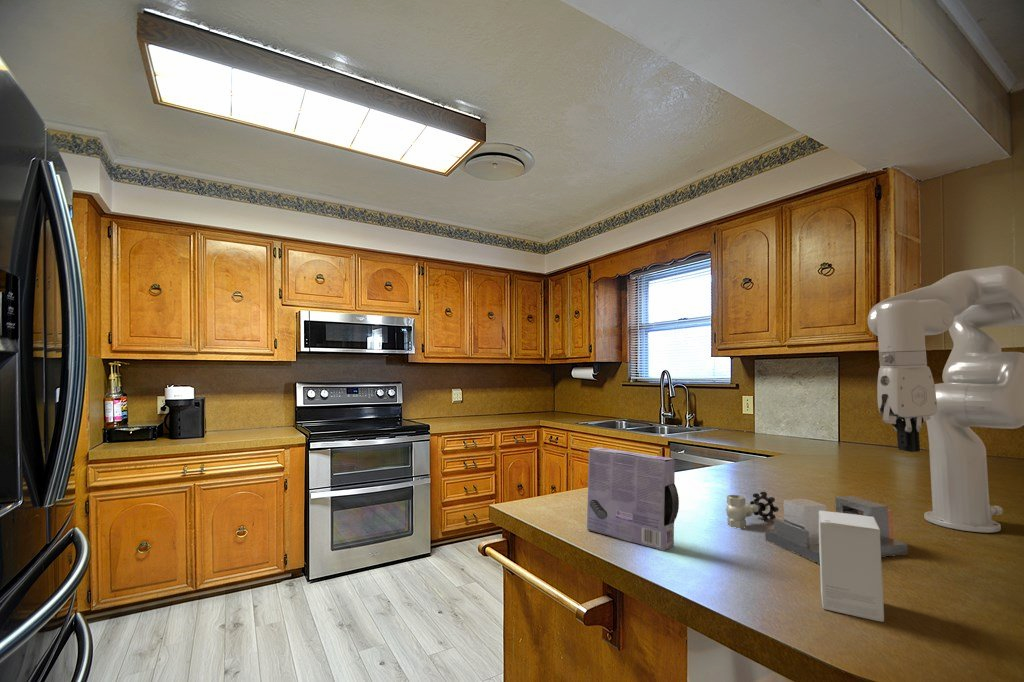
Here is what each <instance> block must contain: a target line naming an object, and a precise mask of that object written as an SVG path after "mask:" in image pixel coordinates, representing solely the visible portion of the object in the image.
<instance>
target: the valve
mask: <svg viewBox="0 0 1024 682" xmlns="http://www.w3.org/2000/svg"><path fill="white" fill-rule="evenodd" d="M752 497H753V498H754V499H753V500H751V501H749V503H748V502H746V498H745V496H743V495H738V494H729V495H727V496H726V503H727V504H726V505H727V506H726V509H725V511H726V515H727V525H729V527H730V526H731V527H736V528H735V529H737V528H743V529H745V528H744V527H746V528H747V520H746V519H747V518H749V517H752V516H753V515H754V516H760V517H761V518H760V520H761V521H763V520H764V521H763V522H767V521H768V519H769V520H770V521H774V519H777V518H776V517H777V516H776V515H775V514H774V513H777V512H779V507H778V506H774V504H773V503H774V502H776V498H775V497H773V496H770V497H768V492H767V491H760V493H753V494H752ZM760 500H765V502H763V501H761V502H760ZM768 509H769V512H768V513H765V511H766V510H768ZM768 517H769V518H768ZM766 520H767V521H766ZM731 527H730V528H731Z"/></svg>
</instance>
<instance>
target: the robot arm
mask: <svg viewBox="0 0 1024 682" xmlns="http://www.w3.org/2000/svg"><path fill="white" fill-rule="evenodd" d="M1016 326H1017V327H1018V326H1024V274H1023V273H1022V272H1021V271H1020V270H1019V269H1016V268H1014V267H1013V266H1010V265H997V266H989V267H981V268H975V269H974V268H973V269H968V270H961V271H956V272H953V273H950V274H947V275H945V276H944V277H943V278H941V279H939V280H936V282H934V283H932V284H931V285H927V286H923V287H919V288H917V289H913V290H910V291H907V292H904V293H903V292H902V293H899V294H897V295H893V296H890V297H887V298H885V299H883V300H881V301H879V302H878V303H876V304H875V305H873V306H872V308H871V309H870V310H869V313H868V316H867V327H868V329H869V330H870V331H871V333H872V334H873V335H875V336H877V341H878V356H879V357H878V361H879V368H878V375H877V385H876V386H877V389H876V391H877V393H876V395H877V408H878V412H879V414H881V415H882V422H883V423H887V424H891V425H892V426H893V429H894V431H896V439H897V449H898V451H902V452H903V451H904V452H910V453H916V452H917V453H918V452H920V451H921V443H920V432H921V431H922V424H924V423H925V422H926V427H927V436H928V447H929V449H928V450H929V467H930V469H929V470H930V471H929V472H930V485H931V488H930V489H931V504H932V510H928V511H925V512H924V515H923V516H924V517H923V518H924V519H925V520H926V521H927V522H929V523H931V524H935V525H936V526H941V527H944V528H947V529H952V530H953V529H954V530H958V531H963V532H964V531H966V532H972V533H973V532H974V533H982V534H983V533H986V534H987V533H989V534H990V533H991V534H992V533H998V532H1001V530H1002V527H1001V524H1000V523H999V522H998V521H996V520H993V516H997V515H1002V514H1003V513H1004V509H1003V508H1002V507H1001V506H1000V505H991V504H990V495H989V494H990V493H989V481H988V480H989V479H988V477H989V476H988V465H987V464H988V462H987V460H988V459H987V449H986V446H985V443H984V441H983V440H982V439H981V437H980V436H979V435H977V434H976V432H974V430H973V429H972V428H971V427H976V428H978V427H979V428H991V429H1007V430H1009V429H1011V430H1013V429H1018V428H1022V427H1023V426H1024V352H1020V351H1002V346H1001V344H1000V343H999V341H998V340H997V339H996V338H995V337H993V336H992V335H991V334H989V333H988V332H986V331H984V330H982V329H980V328H983V329H984V328H997V327H998V328H999V327H1002V328H1003V327H1016ZM947 331H948V332H949V336H950V337H951V340H952V343H953V347H952V349H951V352H950V353H949V356H948V359H947V360H946V363H945V364H944V368H943V370H942V376H941V377H942V378H941V379H942V383H941V382H940V383H935V381H934V377H933V373H932V371H931V369H930V366H928V362H927V361H928V360H927V351H926V350H927V349H926V336H934V335H940V334H943V333H945V332H947Z"/></svg>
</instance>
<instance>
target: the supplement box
mask: <svg viewBox="0 0 1024 682" xmlns="http://www.w3.org/2000/svg"><path fill="white" fill-rule="evenodd" d="M819 553H820V565H819V573H820V574H819V575H820V576H819V578H820V596H821V597H820V598H821V607H822V609H824V610H825V611H826V610H827V611H831V612H835V613H839V614H844V615H847V616H848V615H849V616H851V617H852V616H853V617H858V618H862V619H865V620H866V619H867V620H872V621H876V622H882V623H883V622H884V621H885V609H884V607H885V606H884V589H883V588H884V587H883V586H884V585H883V584H884V583H883V567H882V558H881V544H880V529H879V527H878V525H877V522H876V520H875V518H874V517H871V516H863V515H855V514H847V513H838V512H836V511H827V510H826V511H819Z"/></svg>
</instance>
